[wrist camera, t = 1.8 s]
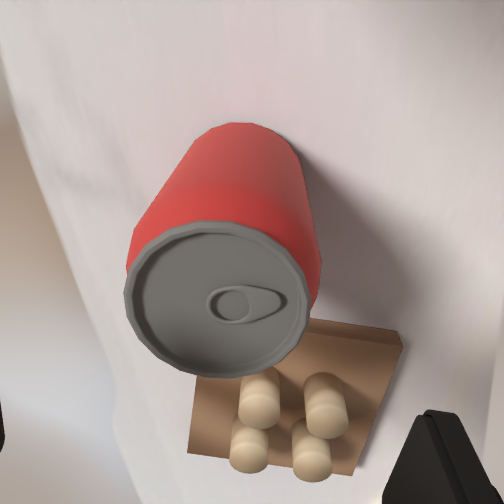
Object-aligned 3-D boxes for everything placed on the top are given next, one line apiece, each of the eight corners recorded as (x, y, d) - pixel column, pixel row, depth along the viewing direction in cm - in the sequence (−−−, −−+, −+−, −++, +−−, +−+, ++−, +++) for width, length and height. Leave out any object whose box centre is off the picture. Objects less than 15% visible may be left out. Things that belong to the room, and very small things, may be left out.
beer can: (308, 230, 25) (336, 385, 14) (194, 243, 25) (138, 400, 15) (297, 110, 22) (320, 189, 11) (168, 129, 22) (74, 221, 12)
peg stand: (207, 302, 27) (196, 349, 23) (397, 331, 28) (417, 382, 24) (190, 435, 33) (179, 492, 29) (348, 458, 33) (359, 517, 29)
